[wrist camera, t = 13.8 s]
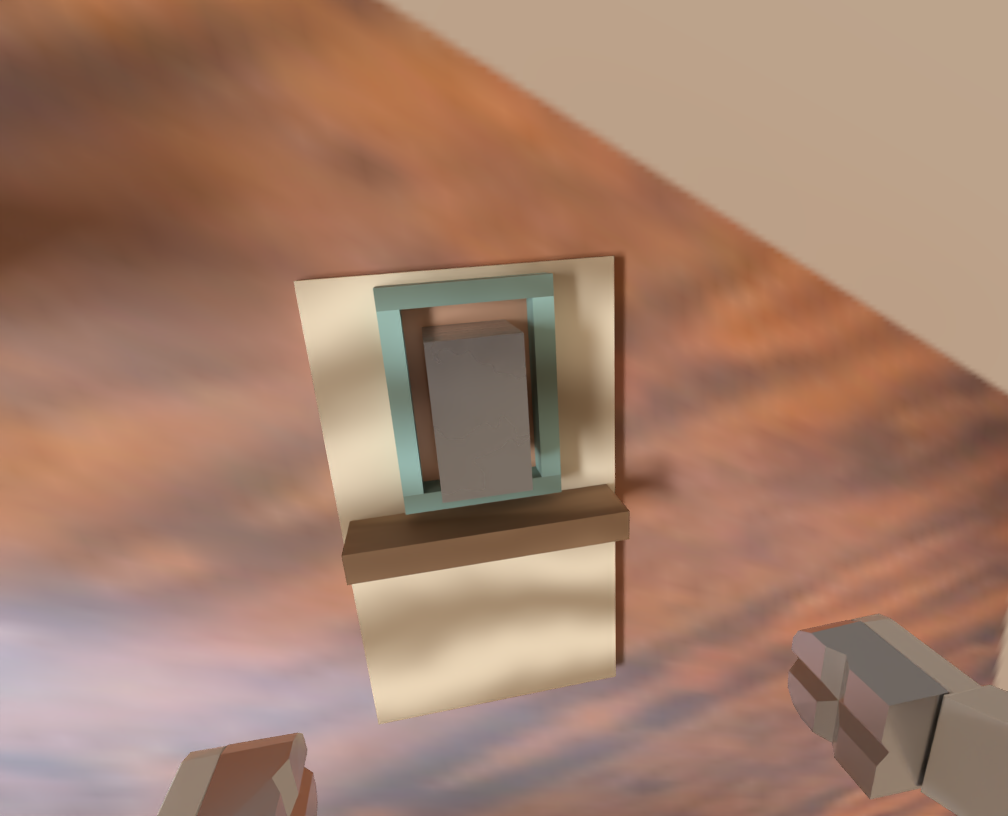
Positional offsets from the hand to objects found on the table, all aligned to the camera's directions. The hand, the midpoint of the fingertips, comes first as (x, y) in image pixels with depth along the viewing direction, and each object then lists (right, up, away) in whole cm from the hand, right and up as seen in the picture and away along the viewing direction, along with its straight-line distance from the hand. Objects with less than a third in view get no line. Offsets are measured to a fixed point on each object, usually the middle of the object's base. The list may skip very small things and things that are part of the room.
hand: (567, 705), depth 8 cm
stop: (-3, +6, +17) cm, 18 cm away
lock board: (-2, -1, +20) cm, 20 cm away
